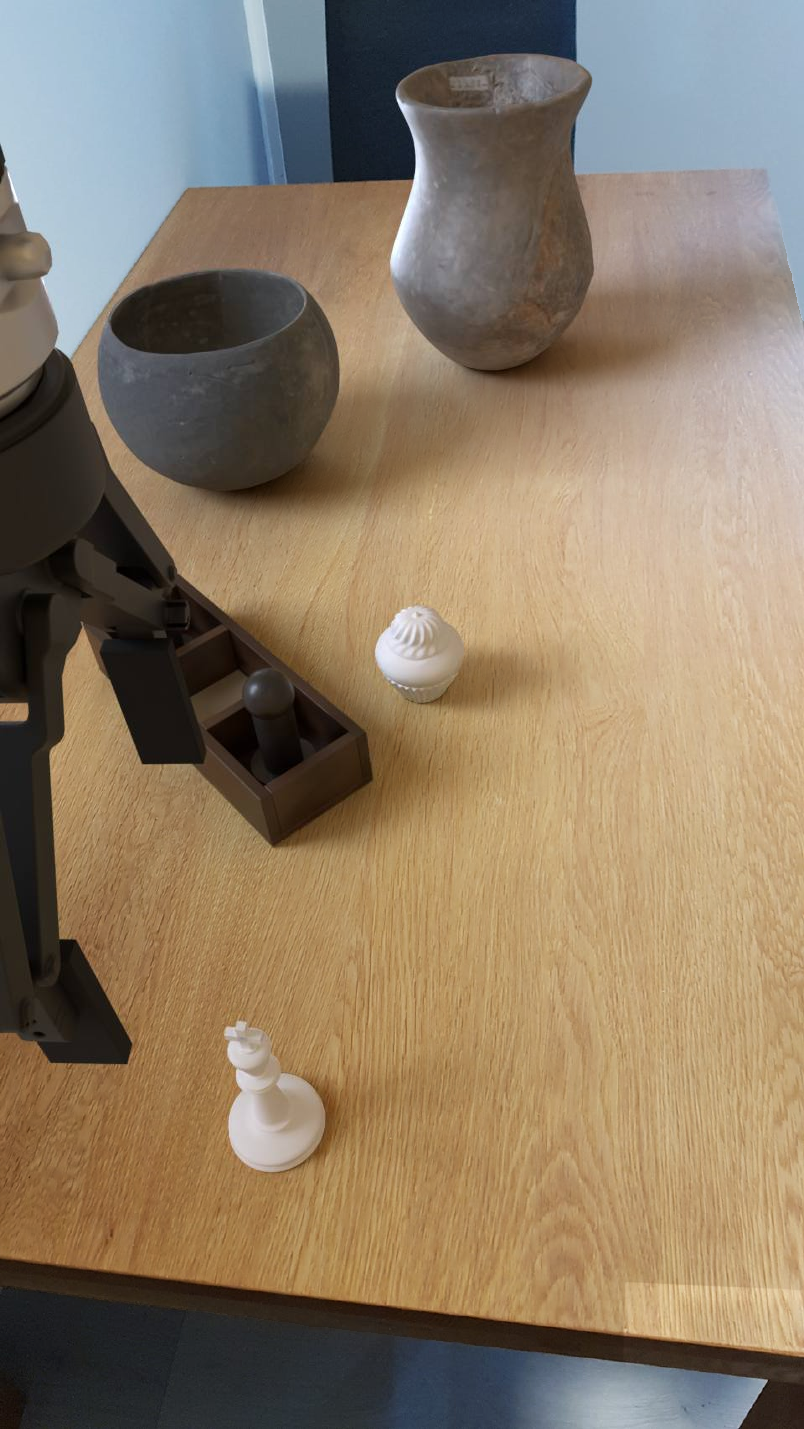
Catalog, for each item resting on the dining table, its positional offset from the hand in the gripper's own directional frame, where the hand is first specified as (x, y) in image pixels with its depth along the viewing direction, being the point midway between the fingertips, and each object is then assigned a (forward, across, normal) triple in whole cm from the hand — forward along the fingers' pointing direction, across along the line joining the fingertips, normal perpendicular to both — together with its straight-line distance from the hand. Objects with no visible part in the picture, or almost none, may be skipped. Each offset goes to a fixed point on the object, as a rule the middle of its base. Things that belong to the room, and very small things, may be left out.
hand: (138, 889), depth 41 cm
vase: (+20, +80, -13) cm, 83 cm away
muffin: (+20, +31, -8) cm, 38 cm away
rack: (+19, +28, +5) cm, 34 cm away
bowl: (+20, +61, +10) cm, 64 cm away
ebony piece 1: (+19, +33, +10) cm, 40 cm away
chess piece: (+20, -1, -2) cm, 20 cm away
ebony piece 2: (+19, +23, 0) cm, 29 cm away
